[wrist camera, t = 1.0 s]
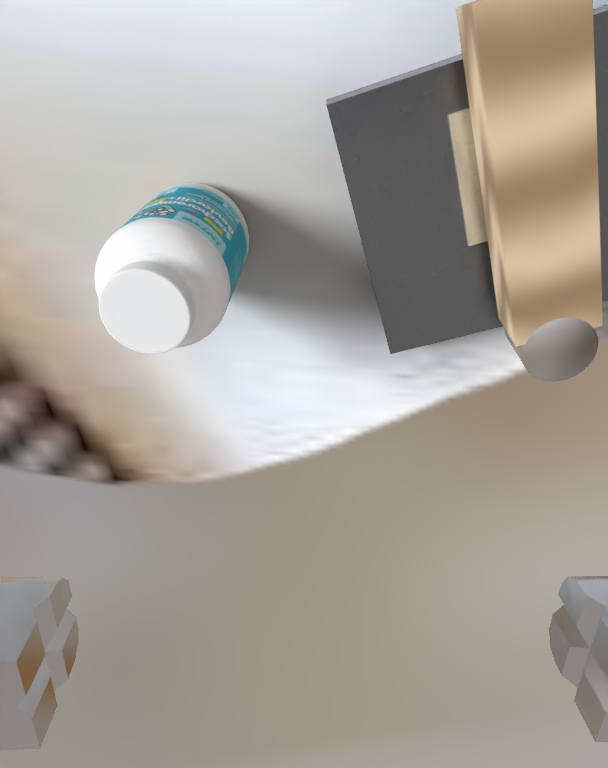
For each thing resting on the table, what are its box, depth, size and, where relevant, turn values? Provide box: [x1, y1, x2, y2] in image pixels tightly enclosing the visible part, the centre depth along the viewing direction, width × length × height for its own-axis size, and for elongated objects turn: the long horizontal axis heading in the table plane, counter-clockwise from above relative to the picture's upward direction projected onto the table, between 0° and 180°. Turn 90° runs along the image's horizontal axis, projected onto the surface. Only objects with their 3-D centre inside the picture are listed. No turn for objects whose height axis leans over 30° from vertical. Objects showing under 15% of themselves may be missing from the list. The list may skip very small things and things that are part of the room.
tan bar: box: [456, 0, 603, 381], centre depth 31 cm, size 21×5×4 cm, turn 17°
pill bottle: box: [95, 183, 249, 354], centre depth 34 cm, size 8×7×14 cm
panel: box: [326, 5, 608, 354], centre depth 36 cm, size 20×18×4 cm
